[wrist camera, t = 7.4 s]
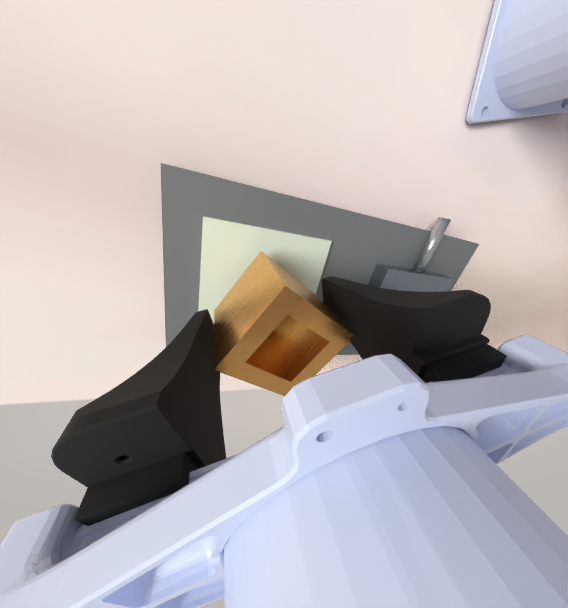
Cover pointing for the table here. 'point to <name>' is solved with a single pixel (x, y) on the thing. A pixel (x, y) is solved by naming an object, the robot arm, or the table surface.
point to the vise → (415, 269)
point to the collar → (274, 329)
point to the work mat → (274, 242)
